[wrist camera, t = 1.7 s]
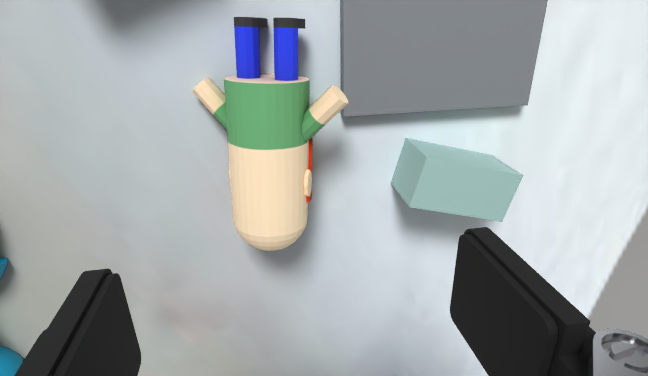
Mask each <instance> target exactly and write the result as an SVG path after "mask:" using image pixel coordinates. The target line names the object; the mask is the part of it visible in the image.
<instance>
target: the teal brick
mask: <svg viewBox="0 0 648 376" xmlns="http://www.w3.org/2000/svg"><path fill="white" fill-rule="evenodd" d="M522 177H523V175H522V174H520V173H519V172H517V171H516V170H514V169H512V168H511V167H509V166H508V165H506V164H505V163H503V162H502V161H500V160H498V159H497V158H495V157H494V156H492V155H489V154H484V153H479V152H474V151H469V150H464V149H459V148H454V147H449V146H443V145H438V144H433V143H428V142H423V141H418V140H413V139H408V138H406V139H405V142H404V145H403V148H402V151H401V154H400V157H399V160H398V163H397V166H396V169H395V172H394V175H393V178H392V181H391V184H392V185H393V186H394V188H395V189H396V190H397V192H398V193H399V194H400V196H401V197H402V198H403V200H404V201H405V202H406V204H407V205H408V206H409V207H411V208H417V209H423V210H430V211H436V212H443V213H449V214H455V215H462V216H468V217H475V218H481V219H487V220H494V221H500V222H502V221H503V218H504V216H505V214H506V212H507V210H508V207H509V205H510V203H511V201H512V199H513V196H514V194H515V192H516V190H517V188H518V186H519V183H520V181H521V179H522Z"/></svg>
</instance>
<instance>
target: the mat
mask: <svg viewBox="0 0 648 376" xmlns="http://www.w3.org/2000/svg"><path fill="white" fill-rule="evenodd" d="M547 1H548V0H340V30H341V91H342V92H343V93H344V95H345V96H346V98H347V99H348V104H347V105H346V106H345V107H344V108H343V109H342V110H341V114H342V115H343V117H346V116H362V115H378V114H394V113H410V112H427V111H443V110H459V109H475V108H491V107H507V106H523V105H528V100H529V95H530V90H531V85H532V79H533V74H534V69H535V64H536V58H537V53H538V48H539V43H540V38H541V32H542V27H543V22H544V17H545V12H546V6H547Z"/></svg>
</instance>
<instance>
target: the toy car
mask: <svg viewBox="0 0 648 376" xmlns="http://www.w3.org/2000/svg"><path fill="white" fill-rule="evenodd" d="M7 262H8V258H0V278H1V277H2V275H3V273H4V271H5V269H6V265H7ZM22 363H23V358H22V356H21V355H19V354H18V353H16V352H15V351H13V350H11V349H8V348H5V347H1V346H0V376H14V375H15V374H16V372H17V370H18V369H19V367H20V366H21V364H22Z"/></svg>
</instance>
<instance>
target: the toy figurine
mask: <svg viewBox="0 0 648 376" xmlns="http://www.w3.org/2000/svg"><path fill="white" fill-rule="evenodd" d="M259 27H262V28H267V19H265V18H252V17H234V29H235V48H236V67H237V75H235V76H229V77H225V78H224V85H225V94H224V93H223V92H222V91H221V90H220V89H219V88H218V86H217V85H216V84H215V83H214V82H213V81H212V80H211V79H210V78H206V79H204V80H202V81H201V82H200V83H198V84H197V85H196V87H195V88H194V90H193V93H194V94H195V95H196V96H197V97H198V98H199V99H200V101H201V102H202V103H203V104H204V105H205V106H206V107H207V108H208V109H209V111H210V112H211V113H212V114H213V115H214V116H215V117H216V118H217V119H218V121H219V122H220V123H221V124H222V125H223V126H224V127H225V128H226V130H227V133H228V149H229V164H230V166H229V180H230V184H231V195H232V208H233V219H234V225H235V227H236V230H237V232H238V234H239V235H240V236H241V238H242V239H243V240H244V241H245V242H247V243H248V244H249V245H251V246H253V247H255V248H257V249H260V250H265V251H275V250H280V249H283V248H286V247H288V246H289V245H291V244H293V243H294V242H295V241H296V240H297V239H298V238H299V237H300V236H301V234H302V233H303V231H304V229H305V227H306V224H307V215H308V202H310V200H311V197H312V136H313V135H315V134H316V133H317V132H318V131H319V130H320V129H321V128H322V127H323V126H324V125H325V124H326V123H328V122H329V121H330V120H331V119H332V118H333V117H334V116H335V115H336V114H337V113H338V112H340V111H341V110H342V109H343V108H344V107H345V106H346V105H347V104H348V99H347V98H346V96H345V95H344V93H343V92H342V91H341V90H340V89H339V88H337V87H336V86H334V85H331V86H330V87H329V88H328V89H327V90H326V91H325V92H324V93H323V94H322V95H321V96H320V97H319V98H318V99H317V100H316V101H315V102H314V103H313V104H312V105H311V106H310V107H309V78H306V77H301V76H298V28H305V19H298V18H274V69H275V75H266V74H260V52H259Z"/></svg>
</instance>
